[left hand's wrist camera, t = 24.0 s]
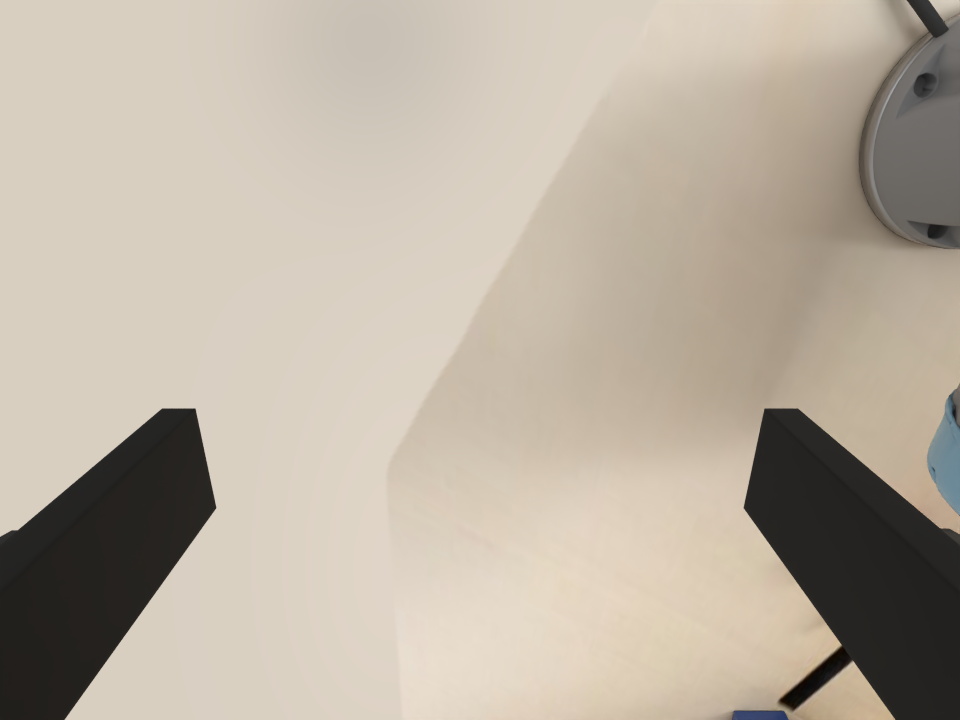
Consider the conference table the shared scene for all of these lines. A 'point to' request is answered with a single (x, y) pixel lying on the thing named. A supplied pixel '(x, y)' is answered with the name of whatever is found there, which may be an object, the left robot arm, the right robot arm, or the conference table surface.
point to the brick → (759, 715)
